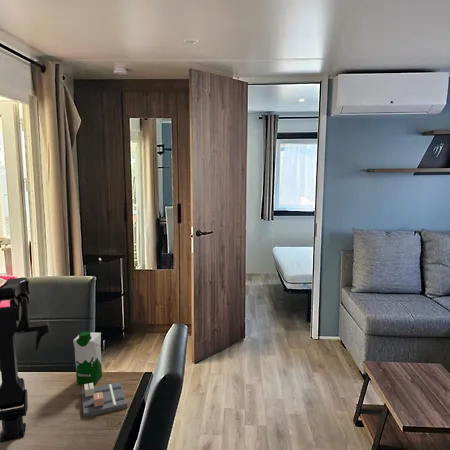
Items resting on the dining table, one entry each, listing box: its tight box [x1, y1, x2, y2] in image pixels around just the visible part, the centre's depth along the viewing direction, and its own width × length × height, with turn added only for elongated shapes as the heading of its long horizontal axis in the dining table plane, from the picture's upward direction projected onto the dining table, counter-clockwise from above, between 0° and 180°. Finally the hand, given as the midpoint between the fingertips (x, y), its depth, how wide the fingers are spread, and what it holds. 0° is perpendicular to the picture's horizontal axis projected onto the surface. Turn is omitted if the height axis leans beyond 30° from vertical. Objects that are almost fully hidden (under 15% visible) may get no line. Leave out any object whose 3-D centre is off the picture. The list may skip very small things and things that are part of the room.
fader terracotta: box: [93, 392, 104, 407], centre depth 132 cm, size 4×3×3 cm
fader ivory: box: [83, 383, 94, 397], centre depth 138 cm, size 4×3×3 cm
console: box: [80, 381, 128, 418], centre depth 137 cm, size 15×14×2 cm
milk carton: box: [72, 330, 103, 387], centre depth 149 cm, size 9×9×20 cm
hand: (22, 353), depth 143 cm, fingers open, 9 cm apart
